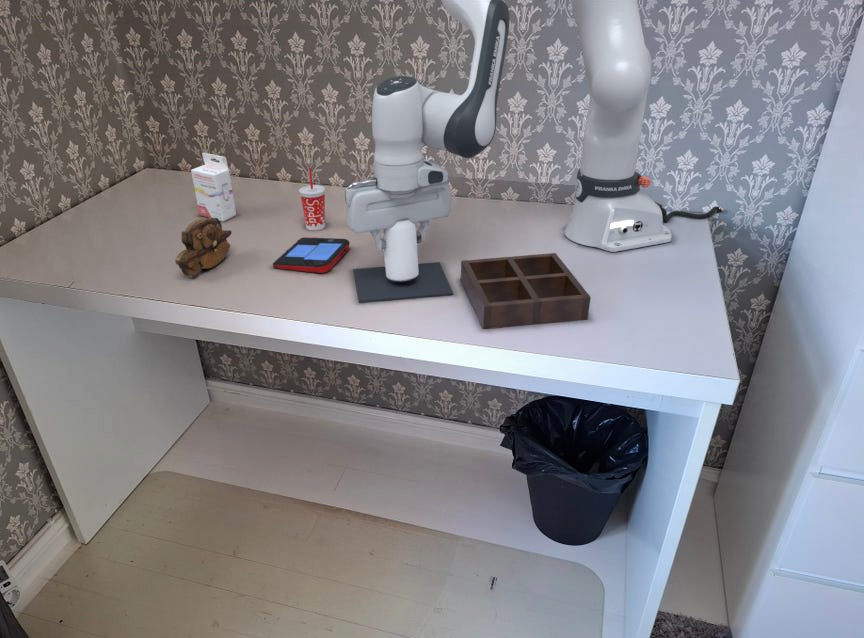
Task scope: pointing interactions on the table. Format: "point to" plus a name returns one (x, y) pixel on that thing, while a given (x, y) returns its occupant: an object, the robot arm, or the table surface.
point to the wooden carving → (202, 245)
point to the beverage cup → (313, 205)
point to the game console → (313, 255)
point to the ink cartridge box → (214, 188)
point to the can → (401, 251)
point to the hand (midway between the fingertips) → (400, 245)
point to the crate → (523, 291)
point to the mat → (401, 284)
